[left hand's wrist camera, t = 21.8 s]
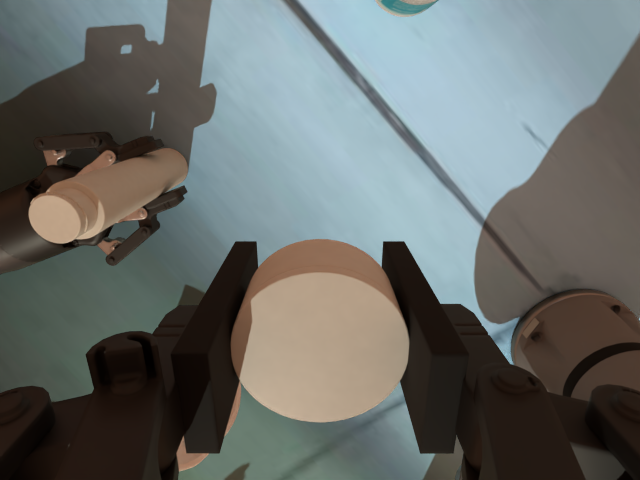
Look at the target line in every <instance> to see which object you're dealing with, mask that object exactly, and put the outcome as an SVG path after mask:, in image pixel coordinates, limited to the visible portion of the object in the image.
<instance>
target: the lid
mask: <svg viewBox="0 0 640 480" xmlns="http://www.w3.org/2000/svg"><path fill="white" fill-rule="evenodd" d="M409 340H410V339H409V334H408V329H407V326H406V323H405V320H404V318H403V315H402V312H401V310H400V307H399V304H398V302H397V299H396V296H395V294H394V291H393V289H392V286H391V283H390V281H389V279H388V277H387V275H386V273H385V272H384V270H383V269H382V268H381V266H380V265H379V264H378V263H377V262H376V261H375V260H374V259H373V258H372V257H370V256H369V255H368V254H367V253H365V252H364V251H362V250H360V249H358V248H357V247H354V246H352V245H349V244H347V243H343V242H340V241H335V240H328V239H313V240H305V241H301V242H296V243H294V244H291V245H288V246H286V247H284V248H282V249H280V250H278V251H276V252H275V253H274V254H272V255H271V256H269V257H268V258H267V259H266V260H265V261H264V262H263V263H262V264H261V265H260V267H259V268H258V269H257V270H256V272H255V274H254V275H253V277H252V279H251V281H250V283H249V286H248V288H247V291H246V294H245V296H244V299H243V302H242V304H241V307H240V310H239V312H238V315H237V318H236V320H235V323H234V326H233V330H232V334H231V341H230V345H231V356H232V363H233V366H234V369H235V372H236V374H237V376H238V378H239V380H240V381H241V383H242V385H243V386H244V387H245V388H246V390H247V391H248V392H249V393H250V394H251V395H252V396H253V397H254V398H255V399H256V400H257V401H259V402H260V403H261V404H262V405H264V406H266V407H267V408H269V409H270V410H272V411H274V412H276V413H279V414H281V415H283V416H286V417H289V418H293V419H297V420H301V421H309V422H331V421H338V420H343V419H347V418H351V417H354V416H357V415H359V414H361V413H364V412H366V411H368V410H369V409H371V408H373V407H375V406H376V405H377V404H379V403H380V402H382V401H383V400H384V399H385V398H386V397H387V396H388V395H389V394H390V393H391V392H392V391H393V390H394V389H395V387H396V386H397V385H398V383H399V381H400V380H401V378H402V376H403V374H404V372H405V370H406V366H407V363H408V354H409Z"/></svg>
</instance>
